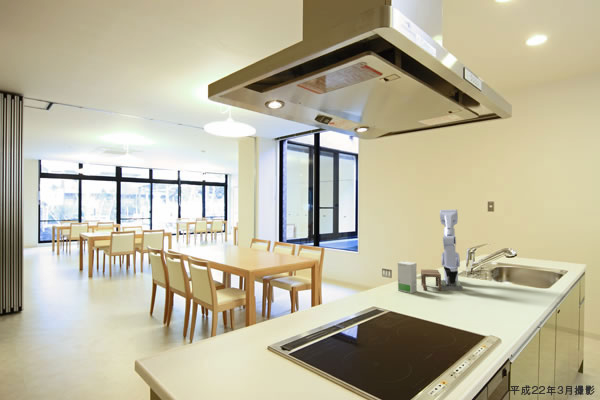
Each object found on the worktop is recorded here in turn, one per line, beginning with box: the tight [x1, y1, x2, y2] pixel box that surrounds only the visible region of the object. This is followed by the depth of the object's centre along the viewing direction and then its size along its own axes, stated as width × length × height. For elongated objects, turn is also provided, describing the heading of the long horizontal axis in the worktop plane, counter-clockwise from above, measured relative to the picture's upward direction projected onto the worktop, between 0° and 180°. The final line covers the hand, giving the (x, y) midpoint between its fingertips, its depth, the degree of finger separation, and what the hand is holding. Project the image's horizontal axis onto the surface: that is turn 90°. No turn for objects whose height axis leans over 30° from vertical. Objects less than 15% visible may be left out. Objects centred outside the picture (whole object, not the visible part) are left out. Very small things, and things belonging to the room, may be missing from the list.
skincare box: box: [397, 260, 418, 294], centre depth 175 cm, size 8×7×16 cm
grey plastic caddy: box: [441, 277, 464, 291], centre depth 176 cm, size 5×11×6 cm, turn 74°
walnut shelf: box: [420, 269, 442, 292], centre depth 179 cm, size 12×9×9 cm
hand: (451, 281), depth 176 cm, fingers open, 7 cm apart
